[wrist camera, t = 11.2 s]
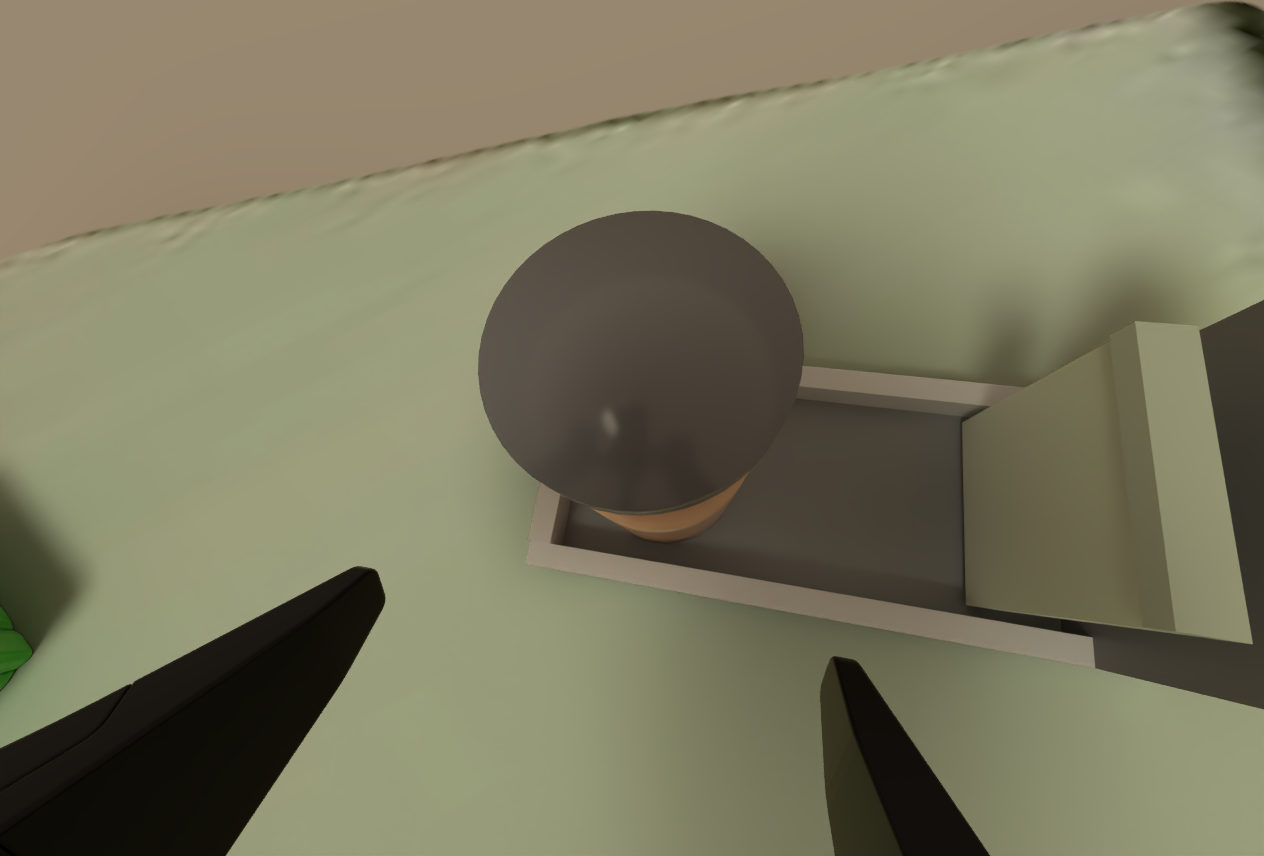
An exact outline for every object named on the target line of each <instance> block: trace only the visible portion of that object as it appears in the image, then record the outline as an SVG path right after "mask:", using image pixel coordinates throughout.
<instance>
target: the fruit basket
mask: <svg viewBox="0 0 1264 856" xmlns="http://www.w3.org/2000/svg"><path fill="white" fill-rule="evenodd" d="M31 655H32V649H31V648H30V646H29V645H28V644H27V642H26V641H25V639H24V638H23V637H22V635H21V634H19V633H17V632H16V631H13V627H12V622H11V620H10V619H9V617H8V616H7V614H6V613H5V612H4V610H3V609H2V608H1V606H0V690H1V689H2V688H3V687H4V686H5V684H6V683H7V682H8V681H9V680H10V678H11V676H12V674H13V673H14V671H15V670H14V669H16V668H18V667H19V666H21V665H22V664H24V663H25V662H26V661H27V660H28V659H29V658H30V657H31Z"/></svg>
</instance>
